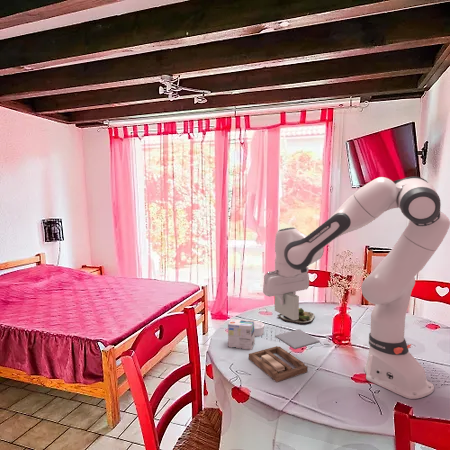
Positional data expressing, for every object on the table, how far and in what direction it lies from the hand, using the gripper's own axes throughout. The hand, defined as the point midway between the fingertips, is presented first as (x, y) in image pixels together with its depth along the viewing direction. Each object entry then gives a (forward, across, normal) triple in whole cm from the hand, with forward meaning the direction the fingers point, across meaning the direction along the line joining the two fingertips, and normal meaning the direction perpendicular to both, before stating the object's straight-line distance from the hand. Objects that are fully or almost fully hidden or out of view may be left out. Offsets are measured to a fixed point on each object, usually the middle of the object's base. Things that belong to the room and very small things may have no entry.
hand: (286, 303), depth 133 cm
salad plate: (+24, +32, +32) cm, 51 cm away
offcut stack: (+23, -9, -3) cm, 25 cm away
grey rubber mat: (+23, +15, +12) cm, 30 cm away
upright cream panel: (+5, 0, 0) cm, 5 cm away
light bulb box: (+23, -10, +19) cm, 32 cm away
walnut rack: (+23, -6, -2) cm, 24 cm away
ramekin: (+23, +3, +27) cm, 36 cm away
